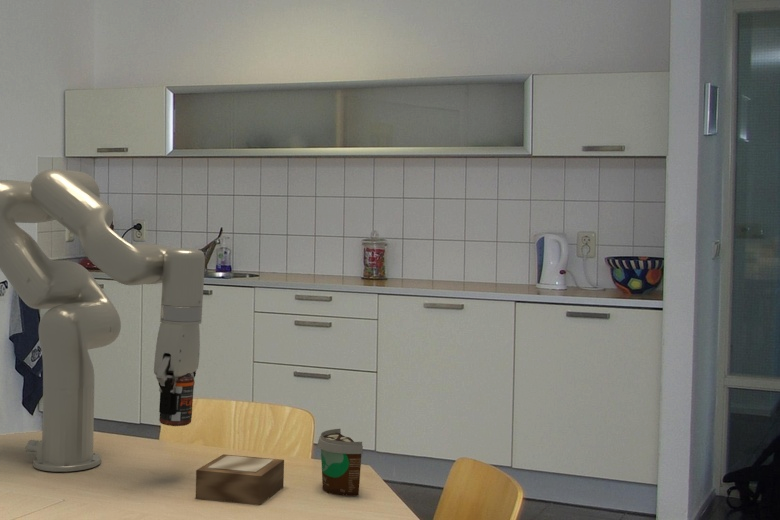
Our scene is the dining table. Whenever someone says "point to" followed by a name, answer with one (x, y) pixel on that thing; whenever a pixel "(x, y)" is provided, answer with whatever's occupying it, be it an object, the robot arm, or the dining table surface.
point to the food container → (340, 463)
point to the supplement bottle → (181, 402)
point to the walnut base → (240, 479)
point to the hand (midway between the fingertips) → (175, 409)
